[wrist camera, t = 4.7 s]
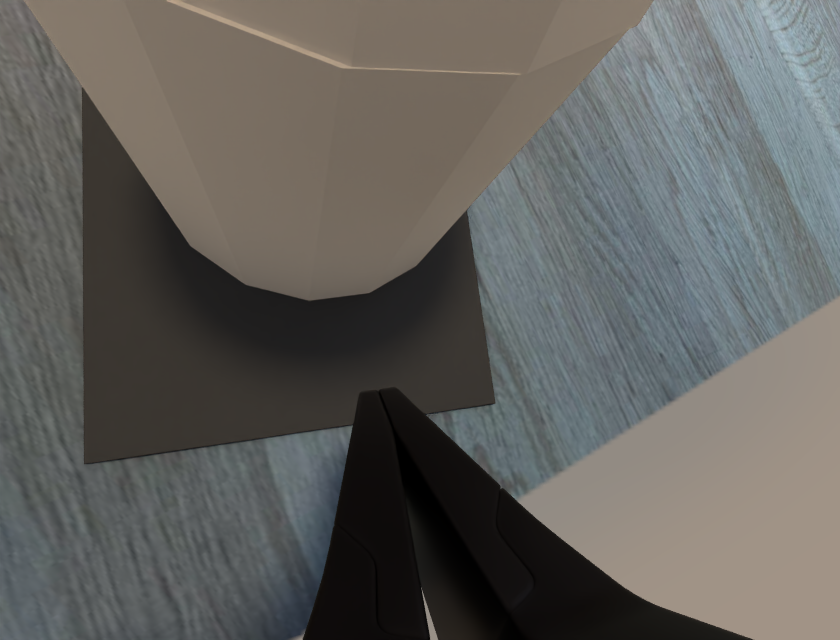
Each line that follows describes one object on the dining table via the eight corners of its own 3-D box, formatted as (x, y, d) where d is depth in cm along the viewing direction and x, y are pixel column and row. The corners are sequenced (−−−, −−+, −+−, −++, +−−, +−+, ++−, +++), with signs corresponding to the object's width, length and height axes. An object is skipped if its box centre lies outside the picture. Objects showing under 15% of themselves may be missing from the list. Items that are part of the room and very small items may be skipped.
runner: (493, 403, 20) (495, 403, 20) (86, 463, 15) (83, 464, 15) (411, -156, 25) (411, -161, 24) (82, -245, 20) (80, -251, 20)
